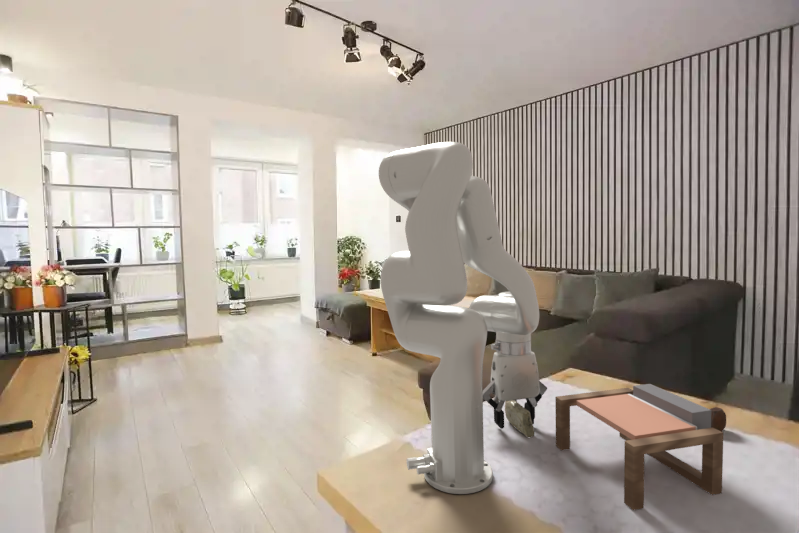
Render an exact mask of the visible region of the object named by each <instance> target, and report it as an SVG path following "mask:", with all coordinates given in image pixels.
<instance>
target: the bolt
mask: <svg viewBox="0 0 799 533" xmlns="http://www.w3.org/2000/svg"><path fill="white" fill-rule="evenodd" d="M709 409H710V410H711V428H712V427H713V428H715V429H717V430H719V431H721V432H724V430H725V428H726V426H727V414H726V412H725V411H724V409H723V408H721V407H717V406H715V407H712V408H709Z"/></svg>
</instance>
